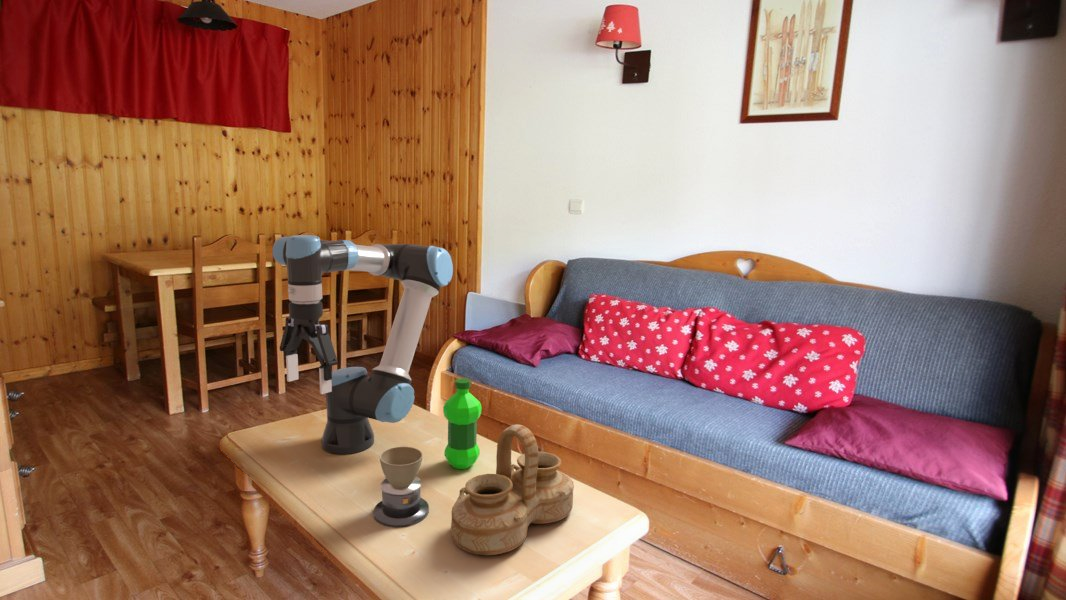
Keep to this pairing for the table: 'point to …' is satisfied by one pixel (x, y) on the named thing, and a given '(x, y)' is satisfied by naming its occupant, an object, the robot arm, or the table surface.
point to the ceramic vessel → (511, 497)
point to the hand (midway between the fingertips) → (309, 386)
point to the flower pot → (401, 465)
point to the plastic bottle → (462, 426)
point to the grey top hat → (401, 505)
